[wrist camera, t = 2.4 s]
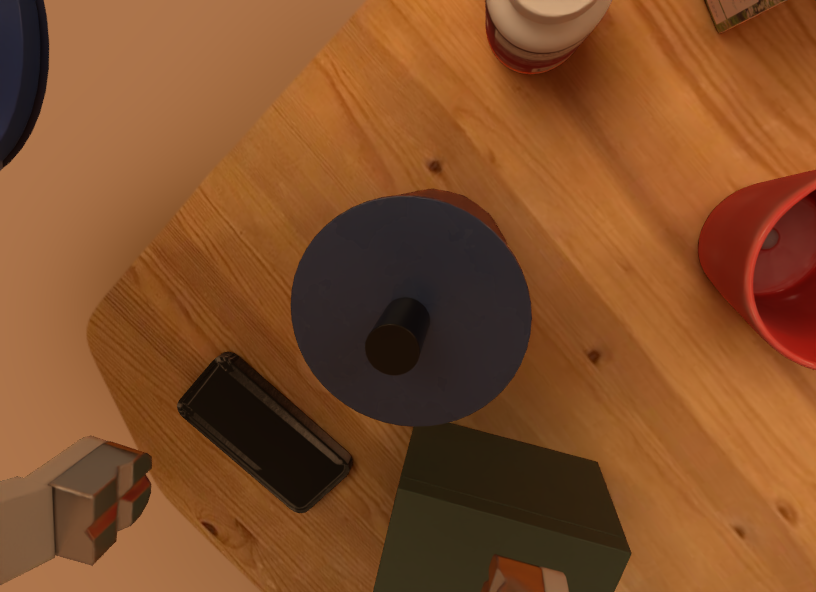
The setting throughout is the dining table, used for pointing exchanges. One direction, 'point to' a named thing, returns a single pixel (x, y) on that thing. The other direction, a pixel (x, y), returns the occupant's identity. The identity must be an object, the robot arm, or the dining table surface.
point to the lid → (411, 310)
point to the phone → (264, 433)
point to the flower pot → (768, 261)
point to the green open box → (497, 514)
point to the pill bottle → (540, 30)
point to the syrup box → (737, 11)
